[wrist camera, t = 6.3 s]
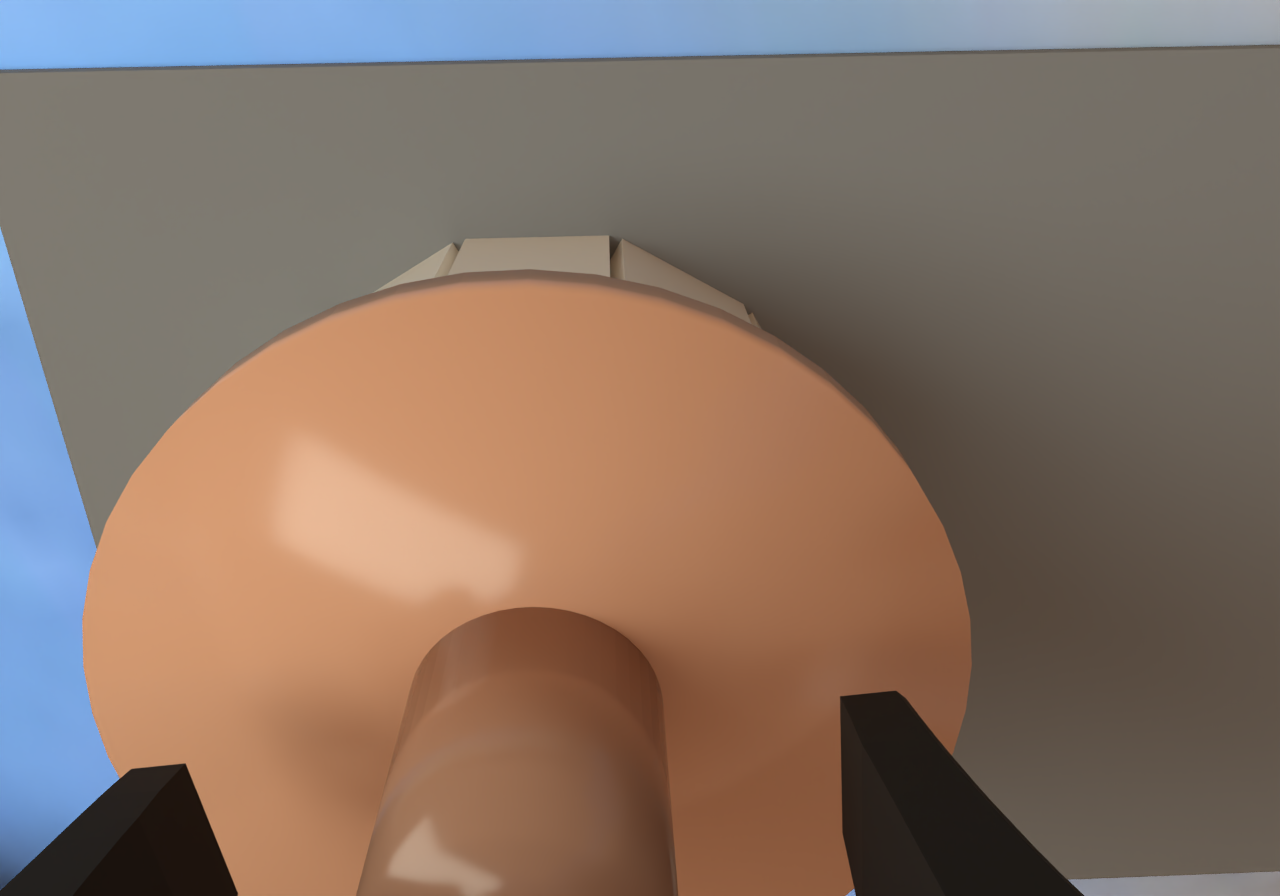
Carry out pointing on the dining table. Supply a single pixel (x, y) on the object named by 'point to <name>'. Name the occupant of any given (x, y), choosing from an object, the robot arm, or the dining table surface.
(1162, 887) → the dining table surface
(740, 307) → the bowl
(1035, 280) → the mat
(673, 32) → the dining table surface
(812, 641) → the lid
